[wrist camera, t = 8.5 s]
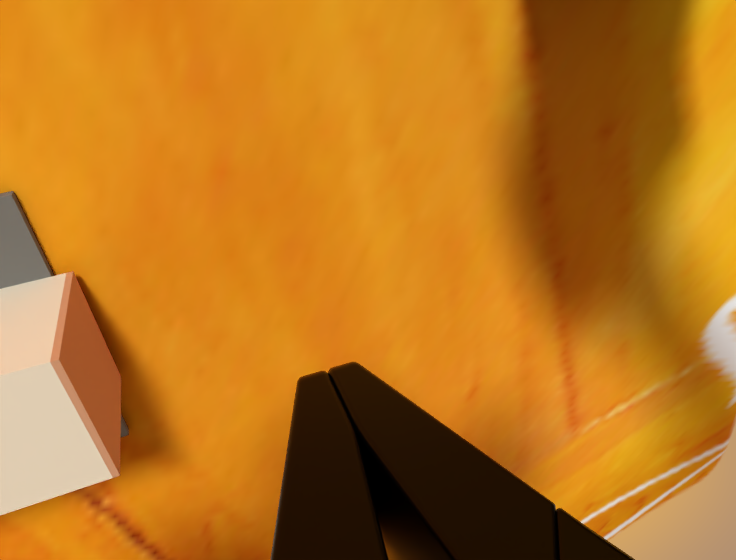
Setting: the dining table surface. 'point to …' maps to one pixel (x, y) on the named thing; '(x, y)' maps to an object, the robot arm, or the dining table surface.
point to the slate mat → (22, 252)
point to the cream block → (54, 394)
